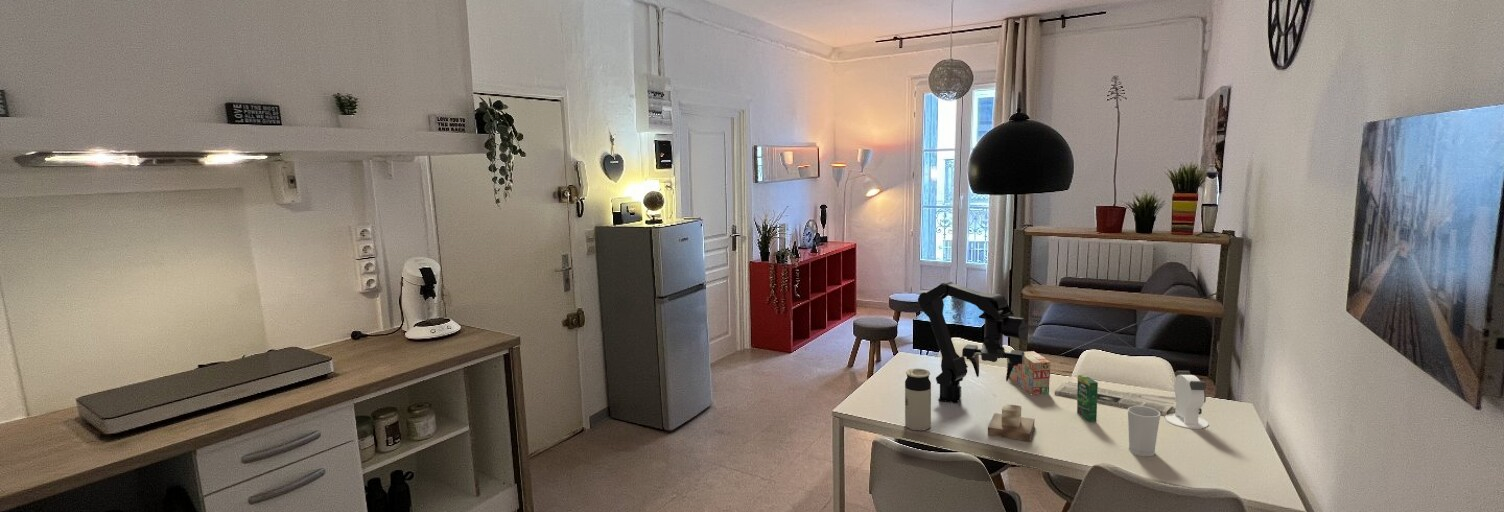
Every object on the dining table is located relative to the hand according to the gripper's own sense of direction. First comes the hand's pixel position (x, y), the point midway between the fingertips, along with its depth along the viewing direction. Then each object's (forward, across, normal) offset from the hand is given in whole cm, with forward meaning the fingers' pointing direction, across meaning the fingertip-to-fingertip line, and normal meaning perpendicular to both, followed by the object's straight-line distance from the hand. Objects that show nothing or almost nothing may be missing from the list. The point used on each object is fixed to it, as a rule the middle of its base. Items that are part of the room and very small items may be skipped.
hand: (992, 378), depth 218 cm
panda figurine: (+11, +56, +17) cm, 59 cm away
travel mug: (+12, -18, -21) cm, 31 cm away
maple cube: (+9, +8, -13) cm, 17 cm away
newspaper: (+12, +35, +28) cm, 47 cm away
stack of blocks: (+12, +7, +32) cm, 35 cm away
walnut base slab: (+11, +8, -13) cm, 19 cm away
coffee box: (+11, +28, +8) cm, 31 cm away
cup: (+11, +43, -12) cm, 46 cm away
